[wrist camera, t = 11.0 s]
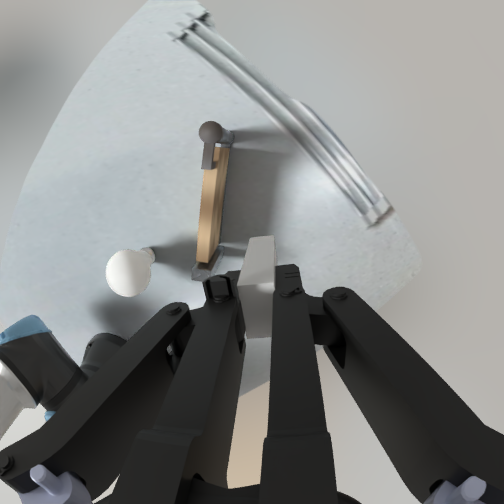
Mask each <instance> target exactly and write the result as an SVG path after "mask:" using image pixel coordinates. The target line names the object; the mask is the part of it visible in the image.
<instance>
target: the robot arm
mask: <svg viewBox="0 0 504 504" xmlns="http://www.w3.org/2000/svg"><path fill="white" fill-rule="evenodd" d="M202 283H203V287H204V292H205V296H206V302H205V304H204V306H203V307H201V308H198V309H193V310H189V306H188V305H187V304H186V303H182V302H174V303H170V304H169V305H167V306H165V307H163V308H162V309H161V310H160V311H159V312H158V313H157V314H156V315H154V316H153V317H152V318H151V319H150V320H149V321H148V322H147V323H146V324H145V325H144V326H143V327H142V328H141V329H140V330H139V331H138V332H137V333H136V334H135V335H134V336H132V337H131V338H130V339H129V340H128V341H127V342H126V341H125V340H123V339H121V338H119V337H117V336H115V335H112V334H107V333H100V334H97V335H95V336H94V337H93V338H92V339H91V340H90V342H89V343H88V345H87V347H86V350H85V354H84V357H83V361H82V364H81V366H80V367H79V366H78V365H77V364H76V363H75V362H74V360H73V359H72V358H71V357H70V356H69V354H68V353H67V352H66V351H65V349H64V348H63V347H62V346H61V344H60V343H59V342H58V341H57V339H56V338H55V337H54V335H53V334H52V331H51V330H50V329H48V328H47V327H46V325H45V324H44V323H43V321H42V320H41V319H40V318H39V317H38V316H36V315H30V316H27V317H25V318H23V319H21V320H20V321H18V322H16V323H15V324H13V325H12V326H10V327H9V328H7V329H6V330H5V331H4V332H2V333H1V334H0V440H1V438H2V437H3V435H4V434H5V433H6V431H7V430H8V429H9V427H10V426H11V424H12V423H13V422H14V420H15V419H16V418H17V416H18V415H19V414H20V413H21V411H22V410H23V409H24V408H36V407H37V405H38V404H39V403H40V404H41V405H42V406H43V407H44V408H45V409H46V410H47V411H46V412H45V419H46V421H47V422H46V423H45V424H44V425H43V426H42V427H41V428H40V429H38V430H37V431H35V432H33V433H31V434H30V435H28V436H26V437H24V438H23V439H21V440H19V441H17V442H15V443H14V444H12V445H10V446H8V447H6V448H5V449H3V450H2V451H0V479H1V480H2V481H3V482H5V483H6V484H7V485H9V486H10V487H11V488H13V489H14V490H15V491H16V492H17V493H18V494H19V496H20V499H21V501H22V504H93V503H92V501H93V500H94V499H96V498H97V497H99V496H100V495H101V494H102V493H103V492H105V491H106V490H107V489H108V488H109V487H110V485H111V484H112V483H113V482H114V481H115V479H116V478H117V477H118V476H119V478H118V480H117V482H116V485H115V487H114V490H113V493H112V494H110V495H109V496H107V497H105V498H103V499H101V500H100V501H98V502H96V503H94V504H361V503H360V502H359V501H357V500H356V499H354V498H352V497H350V496H348V495H346V494H344V493H341V492H338V491H337V487H336V477H335V468H334V459H333V450H332V442H331V437H330V433H329V432H328V431H327V427H326V419H325V411H324V404H323V397H322V390H321V383H320V376H319V370H318V364H317V358H316V351H315V345H314V344H317V345H323V348H324V351H325V353H326V354H327V356H328V357H329V359H330V361H331V362H332V364H333V366H334V367H335V369H336V370H337V372H338V374H339V375H340V377H341V379H342V380H343V382H344V384H345V385H346V386H347V388H348V390H349V392H350V393H351V395H352V397H353V398H354V400H355V401H356V403H357V405H358V406H359V408H360V410H361V412H362V413H363V415H364V417H365V418H366V420H367V422H368V423H369V425H370V426H371V428H372V430H373V431H374V433H375V435H376V436H377V438H378V440H379V441H380V443H381V445H382V447H383V448H384V450H385V451H386V453H387V455H388V456H389V458H390V460H391V462H392V463H393V465H394V467H395V468H396V470H397V472H398V473H399V475H400V477H401V478H402V480H403V482H404V483H405V485H406V486H407V488H408V489H409V491H410V492H411V493H412V494H413V495H414V496H415V497H416V498H417V499H418V501H419V502H420V503H422V504H504V435H503V434H501V433H499V432H497V431H495V430H494V429H491V428H490V427H488V426H486V425H484V424H483V422H482V421H481V420H480V419H479V418H478V417H477V416H476V415H475V413H474V412H473V411H472V410H471V409H470V408H469V407H468V406H467V405H466V403H465V402H464V401H463V400H462V399H461V398H460V397H459V396H458V395H457V394H456V393H455V392H454V390H453V389H452V388H450V386H449V385H448V384H447V383H446V382H445V381H444V380H443V379H442V378H441V377H440V376H439V375H438V374H437V373H436V371H434V369H433V368H432V367H431V366H430V365H429V364H428V363H427V362H426V361H425V360H424V359H423V358H422V357H421V356H420V355H419V354H418V353H417V352H416V351H415V350H414V349H413V348H412V347H411V346H410V345H409V344H408V343H407V342H406V341H405V340H404V339H403V338H402V337H401V336H400V335H399V334H398V333H397V332H396V331H395V330H394V329H393V328H392V327H391V326H390V325H389V324H388V323H386V321H385V320H383V319H382V318H381V317H380V316H379V315H378V314H377V313H376V312H375V311H374V310H373V309H372V308H371V307H370V306H369V305H368V304H367V303H366V302H365V301H364V300H363V299H361V298H360V297H359V296H358V295H357V294H356V293H355V292H354V291H353V290H351V289H349V288H345V287H335V288H331V289H328V290H326V291H325V292H324V293H323V297H313V296H310V295H308V294H306V293H305V290H304V289H303V287H302V281H301V277H300V271H299V267H297V266H296V265H295V264H289V265H280V266H278V265H277V256H276V248H275V240H274V235H269V236H260V237H252V238H250V240H249V243H248V247H247V251H246V254H245V258H244V262H243V265H242V269H241V270H238V271H228V272H227V273H226V274H224V275H215V276H212V277H209V278H207V279H205V280H204V281H203V282H202ZM245 331H246V337H247V339H250V338H264V337H272V342H271V369H270V393H269V413H268V431H267V437H266V438H265V439H264V443H263V454H262V467H261V480H260V484H257V485H251V486H245V487H240V488H233V489H228V485H227V468H228V462H229V455H230V449H231V442H232V436H233V429H234V423H235V416H236V409H237V403H238V396H239V389H240V383H241V376H242V369H243V362H244V356H245V349H246V343H245V338H244V335H245ZM169 344H170V346H171V348H172V351H171V352H170V353H169V354H168V352H167V347H168V346H169ZM119 474H120V475H119Z"/></svg>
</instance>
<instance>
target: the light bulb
mask: <svg viewBox="0 0 504 504" xmlns="http://www.w3.org/2000/svg"><path fill="white" fill-rule="evenodd" d="M154 261H155V253H154V251H153V250H152V249H150V248H142V249H141V250H139V251H135V250H130V249H127V250H121V251H119V252H117V253H115V254H114V255H113V256H112V257H111V258H110V260H109V262H108V264H107V267H106V279H107V282H108V284H109V286H110V288H111V289H112V290H113V291H114V292H115V293H117V294H119V295H121V296H124V297H133V296H136V295H139V294H140V293H142V292H143V291H144V290H145V289H146V288H147V286H148V284H149V282H150V278H151V269H150V267H151V265H152V264H153V263H154Z"/></svg>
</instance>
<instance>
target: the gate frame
mask: <svg viewBox="0 0 504 504" xmlns="http://www.w3.org/2000/svg"><path fill="white" fill-rule="evenodd" d="M223 131H224V134H223V137H222V139H221V140H220V141H219V142H217V143H220V144H221V148H230V143H232V142H233V140H234V135H233V133H232V132H230V131H228V130H226V129H224V128H223ZM229 151H230V150H229ZM228 160H229V158H228ZM227 168H228V165H227ZM226 178H227V173H226ZM225 187H226V181H225ZM224 197H225V189H224ZM223 207H224V198H223V206H222V215H221V224H220V233H219V243H218V244H220V240H221V228H222V218H223ZM223 251H224V247H223V246H217V248H216V249H215V251H214V253H213V255H212V256H211V258H210V260H209V262H208V263H206V262H200V261H197V262H196V263H195V265H194V266H193V268H192V280H195V281H201V282H203V281H204V280H205V279H207V278H209V277H212V276H214V275H215V272H216V270H217V268H218V266H219V264H220V262H221V260H222V258H223Z"/></svg>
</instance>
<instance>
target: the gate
mask: <svg viewBox="0 0 504 504" xmlns="http://www.w3.org/2000/svg"><path fill="white" fill-rule="evenodd" d="M223 134H224V131H223V128H222V126H221V125H220V124H218V123H216V122H214V121H208V122H205V123H204V124H202V126H201V127H200V129H199V136H200V138H201V140H202V141H203V142H205V143H204V150H203V159H202V167H201V169H204V176H203V186H202V195H201V206H200V217H199V228H198V241H197V255H196V261H200V262H206V263H208V262H209V260H210V258H211V256H212V255H213V253H214V251H215V249H216V248H217V246H218V243H219V233H220V224H221V215H222V206H223V198H224V189H225V181H226V173H227V165H228V158H229V150H230V148H221V147H215V143H217V142H219V141H220V140H221V139H222V137H223Z"/></svg>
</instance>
